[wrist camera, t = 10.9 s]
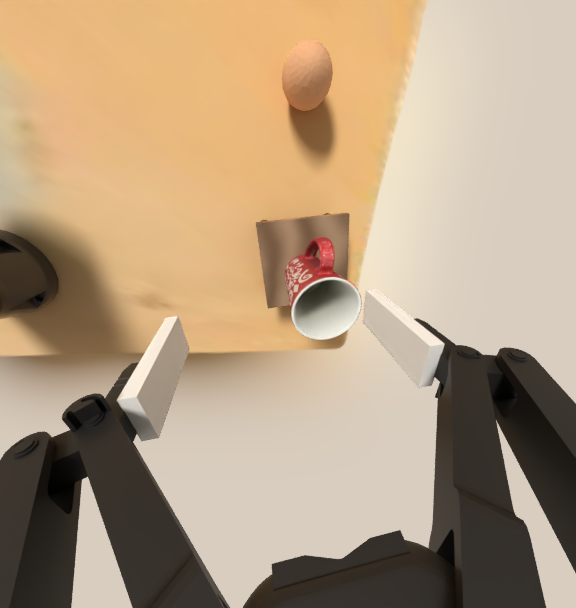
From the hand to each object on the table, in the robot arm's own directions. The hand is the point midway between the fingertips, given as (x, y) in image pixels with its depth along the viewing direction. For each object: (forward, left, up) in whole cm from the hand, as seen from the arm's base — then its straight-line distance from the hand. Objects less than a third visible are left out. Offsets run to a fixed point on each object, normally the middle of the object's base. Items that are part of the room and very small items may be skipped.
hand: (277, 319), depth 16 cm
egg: (+9, +21, -32) cm, 39 cm away
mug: (+7, -4, -24) cm, 25 cm away
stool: (+7, -4, -31) cm, 32 cm away
